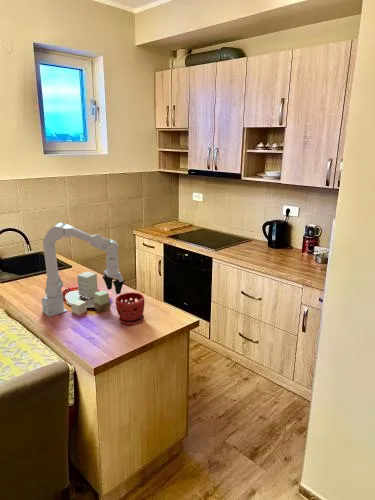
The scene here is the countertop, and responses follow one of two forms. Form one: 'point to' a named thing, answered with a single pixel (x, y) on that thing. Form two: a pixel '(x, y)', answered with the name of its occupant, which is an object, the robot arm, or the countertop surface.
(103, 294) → the sage cube
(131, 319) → the plant pot
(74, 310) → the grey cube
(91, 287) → the supplement box
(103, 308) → the walnut block
